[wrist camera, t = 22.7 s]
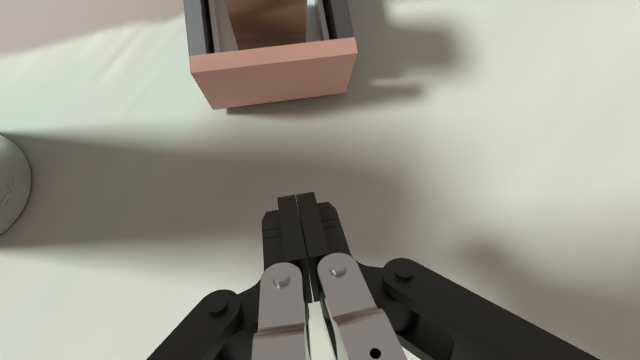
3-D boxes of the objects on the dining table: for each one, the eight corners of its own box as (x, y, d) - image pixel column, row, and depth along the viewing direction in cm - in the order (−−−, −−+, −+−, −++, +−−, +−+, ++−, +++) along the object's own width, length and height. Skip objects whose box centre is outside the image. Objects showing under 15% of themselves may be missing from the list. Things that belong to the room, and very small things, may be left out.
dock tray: (346, 92, 30) (358, 53, 24) (213, 109, 29) (190, 73, 23) (326, -12, 31) (332, -72, 26) (200, 1, 30) (177, -59, 25)
